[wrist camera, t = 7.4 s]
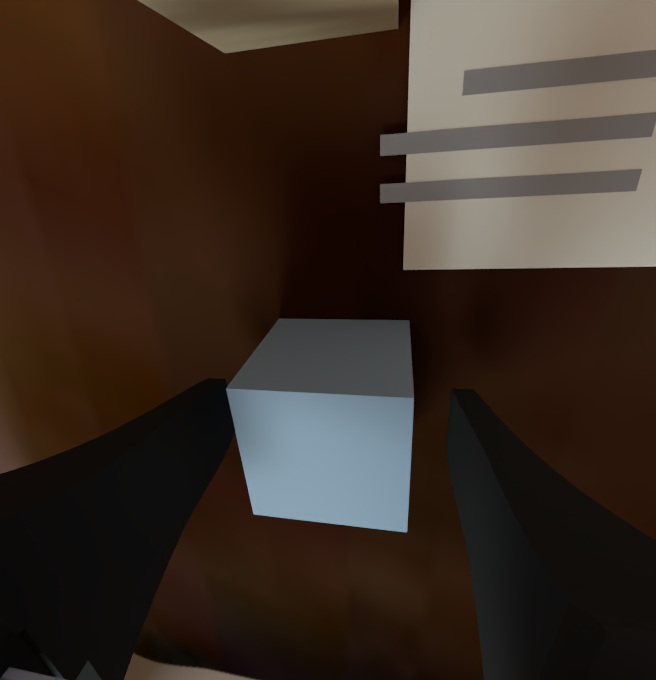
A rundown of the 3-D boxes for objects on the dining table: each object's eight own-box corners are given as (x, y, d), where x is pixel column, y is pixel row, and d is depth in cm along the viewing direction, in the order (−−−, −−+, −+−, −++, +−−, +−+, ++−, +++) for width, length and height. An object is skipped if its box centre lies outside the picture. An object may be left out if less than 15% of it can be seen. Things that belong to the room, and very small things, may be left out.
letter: (1048, -228, 6) (1066, -239, 6) (798, 263, 9) (804, 264, 9) (380, -95, 8) (380, -100, 8) (380, 268, 11) (380, 270, 11)
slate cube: (409, 319, 12) (414, 398, 8) (405, 426, 14) (407, 532, 10) (279, 317, 13) (225, 388, 9) (292, 419, 15) (253, 514, 11)
